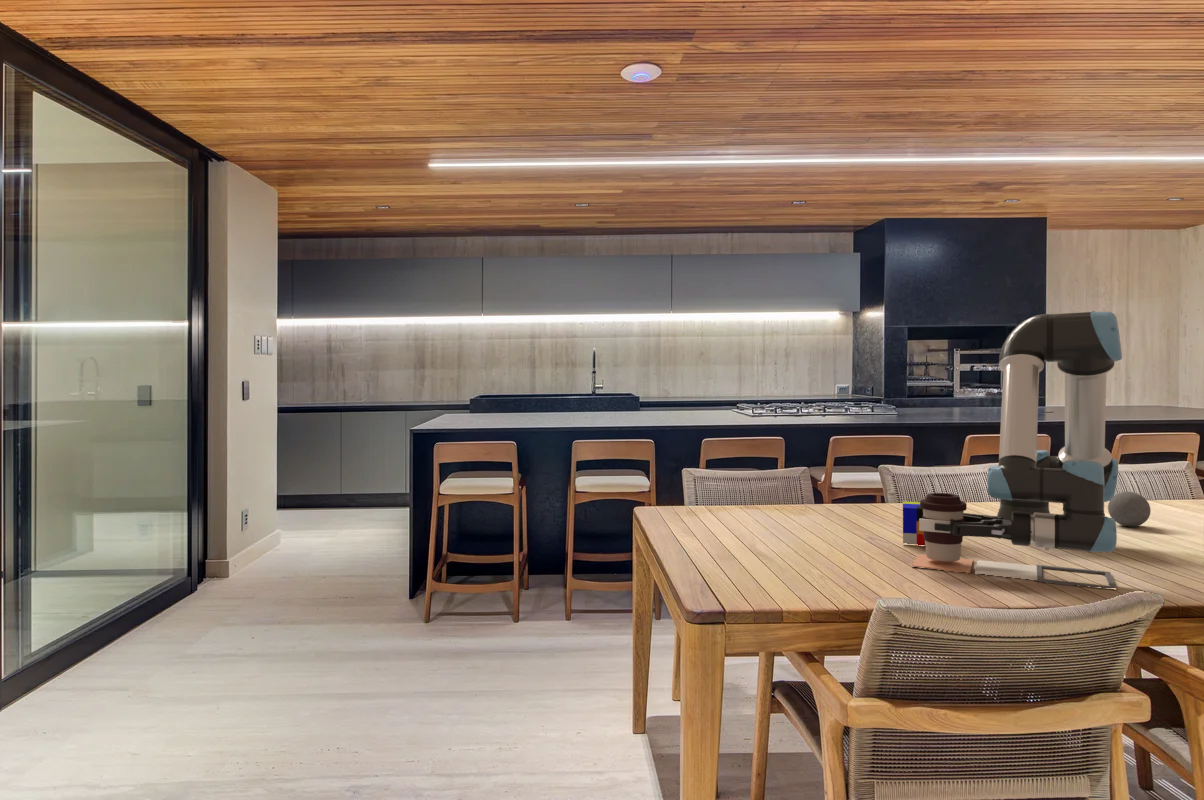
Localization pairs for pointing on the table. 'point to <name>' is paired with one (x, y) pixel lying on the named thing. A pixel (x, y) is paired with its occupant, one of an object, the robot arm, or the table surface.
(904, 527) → the puzzle toy
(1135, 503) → the decorative ball
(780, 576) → the table surface
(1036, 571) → the game board
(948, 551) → the coffee cup
